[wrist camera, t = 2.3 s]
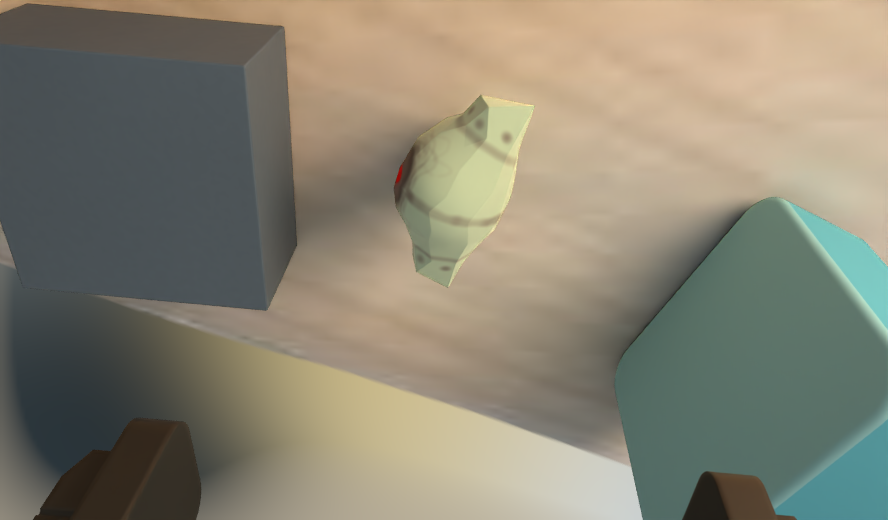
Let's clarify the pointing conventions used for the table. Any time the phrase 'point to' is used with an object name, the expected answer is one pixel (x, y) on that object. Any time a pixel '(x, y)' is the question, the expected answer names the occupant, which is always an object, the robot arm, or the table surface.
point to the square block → (146, 155)
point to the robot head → (459, 183)
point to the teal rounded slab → (766, 373)
